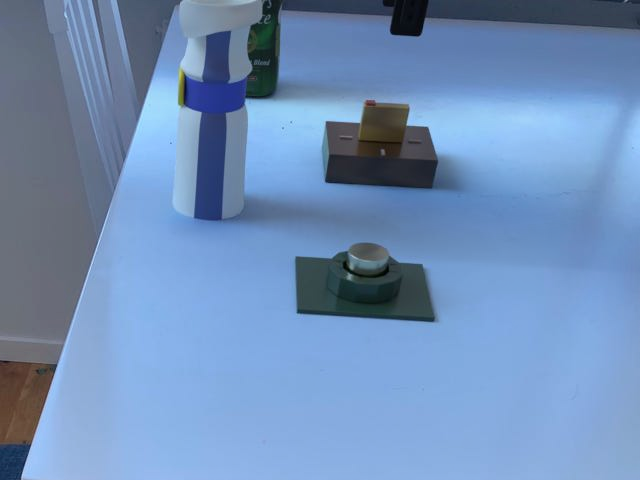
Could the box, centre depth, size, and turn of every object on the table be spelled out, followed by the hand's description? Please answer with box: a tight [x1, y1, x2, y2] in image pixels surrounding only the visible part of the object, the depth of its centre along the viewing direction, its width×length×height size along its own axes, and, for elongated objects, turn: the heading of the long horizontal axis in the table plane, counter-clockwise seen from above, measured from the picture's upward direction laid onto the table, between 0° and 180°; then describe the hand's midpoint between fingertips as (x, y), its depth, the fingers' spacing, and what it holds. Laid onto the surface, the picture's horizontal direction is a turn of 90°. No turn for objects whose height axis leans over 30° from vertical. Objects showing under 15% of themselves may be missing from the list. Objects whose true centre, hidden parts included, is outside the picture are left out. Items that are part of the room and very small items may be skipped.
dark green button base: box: [294, 250, 436, 323], centre depth 86 cm, size 12×10×4 cm
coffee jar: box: [246, 0, 283, 97], centre depth 119 cm, size 10×8×19 cm
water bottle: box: [172, 0, 262, 221], centre depth 92 cm, size 8×9×25 cm
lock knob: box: [358, 99, 411, 143], centre depth 105 cm, size 5×1×4 cm, turn 85°
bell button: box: [345, 242, 390, 278], centre depth 84 cm, size 4×4×2 cm
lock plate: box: [321, 120, 439, 189], centre depth 108 cm, size 12×10×3 cm
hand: (400, 20), depth 98 cm, fingers open, 9 cm apart
